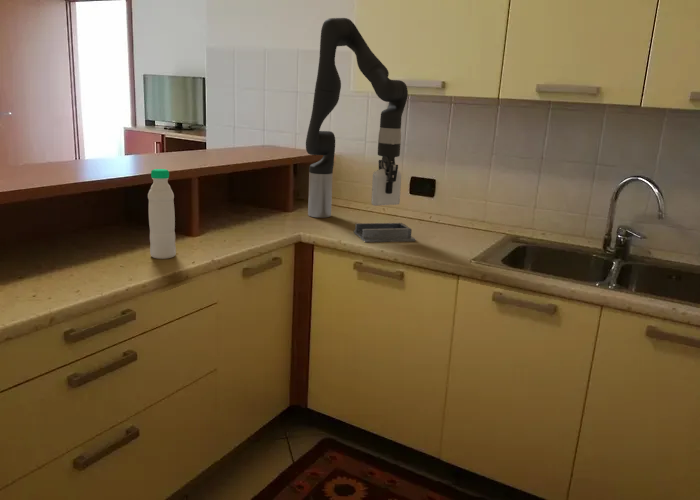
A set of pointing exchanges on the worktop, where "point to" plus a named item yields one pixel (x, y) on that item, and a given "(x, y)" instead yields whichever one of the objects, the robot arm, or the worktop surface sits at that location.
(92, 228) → the worktop surface
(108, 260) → the worktop surface
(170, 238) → the water bottle
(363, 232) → the bracket
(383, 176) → the photo printer
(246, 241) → the worktop surface
